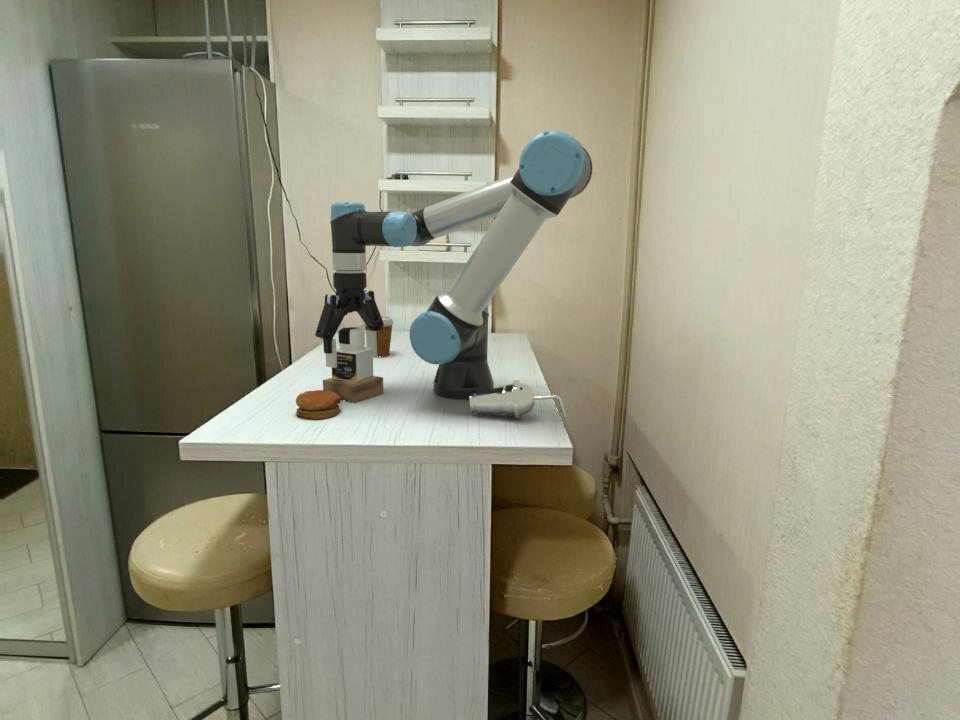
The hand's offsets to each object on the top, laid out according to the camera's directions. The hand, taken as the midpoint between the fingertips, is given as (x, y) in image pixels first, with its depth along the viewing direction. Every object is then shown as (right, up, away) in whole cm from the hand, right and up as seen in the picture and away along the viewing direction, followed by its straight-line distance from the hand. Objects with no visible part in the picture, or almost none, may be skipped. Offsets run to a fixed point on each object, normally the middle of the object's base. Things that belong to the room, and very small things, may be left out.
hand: (352, 361), depth 133 cm
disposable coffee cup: (-2, +2, +46) cm, 46 cm away
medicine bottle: (0, -4, +1) cm, 4 cm away
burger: (-5, -11, -12) cm, 17 cm away
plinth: (0, -8, +2) cm, 8 cm away
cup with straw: (+28, -9, -12) cm, 32 cm away
